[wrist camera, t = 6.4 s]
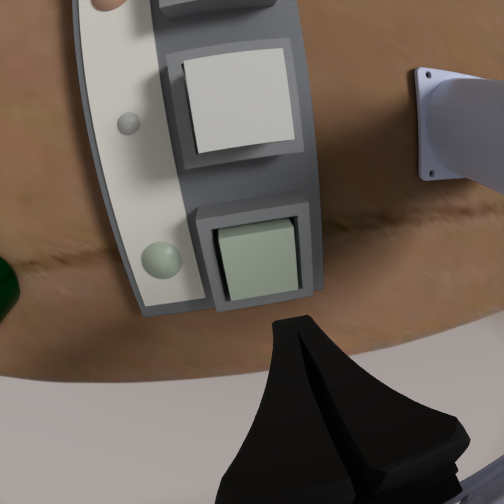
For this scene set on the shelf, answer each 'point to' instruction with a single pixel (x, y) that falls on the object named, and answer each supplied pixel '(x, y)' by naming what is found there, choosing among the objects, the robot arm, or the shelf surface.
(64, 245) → the shelf surface
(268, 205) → the button board
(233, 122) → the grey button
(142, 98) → the pattern card
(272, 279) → the sage button
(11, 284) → the soda can
